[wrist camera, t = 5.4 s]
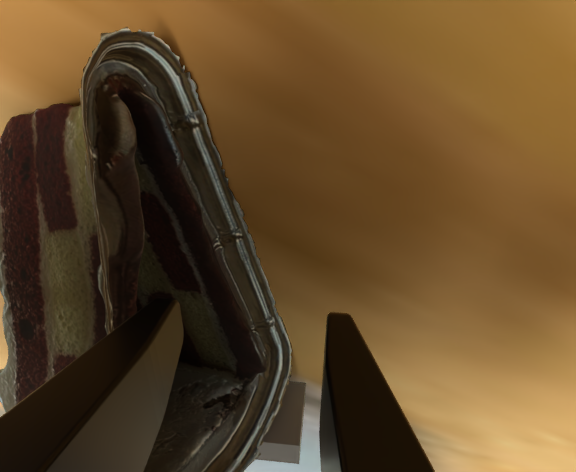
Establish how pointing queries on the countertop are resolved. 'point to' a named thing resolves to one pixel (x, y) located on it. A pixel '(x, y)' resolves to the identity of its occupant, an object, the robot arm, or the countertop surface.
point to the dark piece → (138, 252)
